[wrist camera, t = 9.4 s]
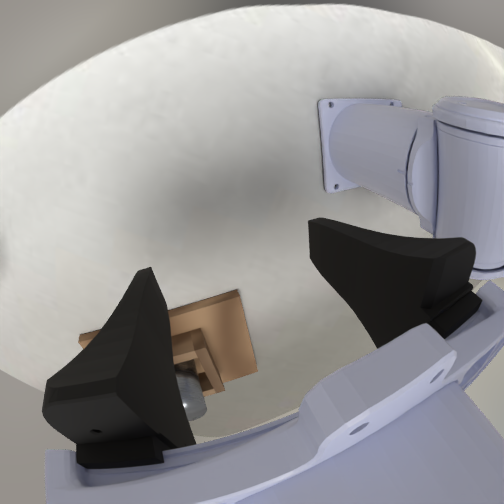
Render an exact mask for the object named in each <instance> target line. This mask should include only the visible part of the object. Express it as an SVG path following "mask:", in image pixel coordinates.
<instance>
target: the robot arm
mask: <svg viewBox="0 0 504 504" xmlns="http://www.w3.org/2000/svg"><path fill="white" fill-rule="evenodd" d="M329 102H330V103H331V107H329V106H328V104H329ZM390 103H391V106H390ZM318 109H319V119H320V129H321V140H322V153H323V168H324V185H325V190H326V192H328V193H335V192H339V191H343V190H348V189H352V188H357V187H361V186H362V187H364V188H366V189H368V190H370V191H372V192H374V193H376V194H378V195H380V196H382V197H384V198H386V199H388V200H390V201H392V202H394V203H396V204H398V205H400V206H402V207H404V208H406V209H408V210H409V211H411V212H413V213H415V214H417V215H418V216H419V218H420V227H421V228H423V229H424V230H426V231H428V232H429V233H431V234H433V238H414V237H404V236H397V235H391V234H385V233H380V232H376V231H372V230H367V229H364V228H360V227H356V226H353V225H349V224H345V223H342V222H338V221H335V220H330V219H326V218H316V219H313V220H309V221H308V227H309V248H310V259H311V261H312V262H313V264H314V265H315V267H316V268H317V270H318V271H319V272H320V274H321V275H322V276H323V277H324V278H325V279H326V281H327V282H328V283H329V284H330V285H331V286H332V287H333V288H334V289H335V290H336V291H337V293H338V294H339V295H340V296H341V297H342V298H343V299H344V300H345V301H346V302H347V304H348V305H349V306H350V307H351V308H352V310H353V311H354V312H355V314H356V315H357V317H358V318H359V320H360V321H361V323H362V324H363V326H364V327H365V329H366V330H367V332H368V334H369V335H370V337H371V338H372V340H373V342H374V344H375V345H376V347H377V349H376V350H375V351H373V352H371V353H369V354H367V355H365V356H364V357H362V358H360V359H358V360H356V361H354V362H352V363H350V364H348V365H346V366H344V367H342V368H340V369H338V370H336V371H335V372H333V373H332V374H330V375H328V376H327V377H325V378H323V379H322V380H320V381H319V382H318V383H317V384H316V385H315V386H314V387H313V388H311V389H310V390H309V391H308V392H307V393H306V394H305V396H304V399H303V401H302V403H301V405H300V407H299V412H296V413H294V414H291V415H289V416H286V417H284V418H281V419H278V420H276V421H273V422H270V423H268V424H265V425H262V426H259V427H256V428H253V429H250V430H247V431H244V432H240V433H238V434H234V435H230V436H227V437H224V438H220V439H216V440H213V441H208V442H204V443H200V444H196V442H195V439H194V436H193V433H192V431H191V428H190V425H189V422H188V418H187V415H186V412H185V409H184V405H183V402H182V398H181V395H180V391H179V387H178V383H177V378H176V374H175V368H174V361H173V350H172V339H171V326H170V319H169V314H168V309H167V304H166V301H165V299H164V297H163V295H162V292H161V290H160V288H159V285H158V283H157V280H156V278H155V275H154V273H153V271H152V268H151V267H149V268H146V269H142V270H139V271H138V272H137V273H136V275H135V276H134V278H133V280H132V282H131V284H130V285H129V287H128V289H127V291H126V292H125V294H124V296H123V298H122V299H121V301H120V302H119V304H118V306H117V307H116V309H115V310H114V312H113V313H112V315H111V316H110V318H109V319H108V321H107V322H106V323H105V325H104V326H103V327H102V329H101V330H100V331H99V332H98V334H97V335H96V336H95V337H94V338H93V339H92V340H91V341H90V343H89V344H88V345H87V346H86V347H85V348H84V349H83V350H82V351H81V352H80V353H79V354H78V355H77V356H76V357H75V358H74V359H73V360H72V361H71V362H69V363H68V364H67V365H66V366H65V367H64V368H62V369H61V370H60V371H58V372H57V373H56V374H55V375H53V376H52V377H51V378H49V379H48V380H47V383H46V388H45V394H44V401H43V407H42V413H43V416H44V418H45V419H46V421H47V422H48V423H49V424H50V425H51V426H52V427H53V428H54V429H56V430H57V431H58V432H60V433H61V434H62V435H64V436H65V437H67V438H68V439H70V440H71V441H73V442H74V443H76V452H75V451H72V450H66V449H65V450H64V449H58V450H57V449H47V450H45V490H46V504H504V439H503V438H502V436H501V435H500V434H499V433H498V431H497V430H496V429H495V427H494V426H493V425H492V424H491V422H490V421H489V420H488V419H487V418H486V416H485V415H484V414H483V413H482V411H480V409H479V408H478V407H477V406H476V404H475V403H474V402H473V401H472V400H471V399H470V397H469V396H468V395H467V394H466V393H465V392H464V391H465V389H467V388H468V386H469V385H470V384H471V383H472V382H473V381H474V380H475V379H476V378H477V377H478V376H479V374H480V373H481V372H482V371H483V370H484V369H485V368H486V366H487V365H488V364H489V363H490V362H491V361H492V359H493V358H494V357H495V356H496V355H497V353H498V352H499V351H500V350H501V348H502V347H503V346H504V291H503V290H502V289H501V288H500V287H498V286H497V285H496V284H494V283H493V282H492V281H491V280H490V279H495V278H500V277H504V104H503V103H499V102H495V101H491V100H486V99H480V98H473V97H462V96H447V97H442V98H441V99H440V100H439V101H438V102H437V103H436V104H434V105H433V106H432V110H433V112H429V111H423V110H417V109H410V108H403V107H402V103H401V101H400V100H393V99H366V98H342V99H321V100H320V101H319V103H318ZM335 184H336V188H334V186H335ZM469 278H472V279H477V280H490V281H488V282H487V283H486V284H484V285H483V286H482V287H481V288H480V289H479V290H478V292H477V293H476V294H475V293H473V292H472V291H471V290H472V289H473V285H472V284H470V283H469V282H468V281H469Z"/></svg>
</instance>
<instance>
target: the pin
mask: <svg viewBox="0 0 504 504" xmlns="http://www.w3.org/2000/svg"><path fill="white" fill-rule="evenodd" d="M174 368H175V374H176V378H177V383H178V387H179V391H180V395H181V398H182V402H183V405H184V409H185V412H186V415H187V418H188V421H192V420H196V419H198V418H200V417H202V416H203V415H204V414H205V413H206V411H207V407H206V404H205V400H204V396H203V392H202V389H201V385H200V381H199V377H198V373H197V368H196V364H195V360H194V359H191V360H188V361H184V362H181V363H177V364H174Z"/></svg>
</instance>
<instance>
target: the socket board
mask: <svg viewBox="0 0 504 504" xmlns="http://www.w3.org/2000/svg"><path fill="white" fill-rule="evenodd" d="M168 314H169V319H170V326H171V339H172V350H173V361H174V364H177V363H181V362H184V361H188V360H191V359H194V360H195V364H196V368H197V373H198V377H199V381H200V385H201V389H202V392H203V396H204V397H205V396H208V395H212V394H215V393H219V392H222V391H225V388H224V385H223V383H224V382H228V381H231V380H234V379H237V378H240V377H243V376H246V375H249V374H252V373H255V372H258V370H257V365H256V361H255V357H254V353H253V349H252V345H251V341H250V337H249V333H248V328H247V324H246V320H245V316H244V312H243V307H242V303H241V299H240V295H239V293H238V291H237V290H234V291H231V292H228V293H224V294H221V295H218V296H215V297H212V298H208V299H205V300H202V301H199V302H195V303H192V304H189V305H185V306H182V307H179V308H175V309H172V310H168ZM99 331H100V330H97V331H93V332H89V333H85V334H82V335H80V336H79V341H78V343H79V344H80V345H81V346H82V348H83V349H84V348H85V347H86V346H87V345H88V344H89V343H90V341H91V340H92V339H93V338H94V337H95V336H96V335H97V334H98V332H99Z"/></svg>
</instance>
